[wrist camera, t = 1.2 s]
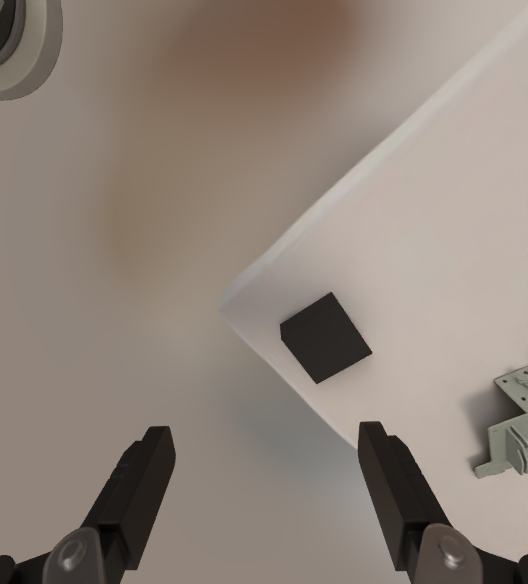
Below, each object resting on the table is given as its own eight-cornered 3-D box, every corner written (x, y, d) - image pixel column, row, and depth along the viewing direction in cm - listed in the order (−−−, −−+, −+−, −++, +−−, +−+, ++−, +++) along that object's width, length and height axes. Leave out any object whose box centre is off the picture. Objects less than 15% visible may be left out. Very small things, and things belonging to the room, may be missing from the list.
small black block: (279, 324, 27) (280, 339, 24) (331, 291, 25) (339, 303, 22) (311, 366, 28) (316, 384, 25) (362, 337, 27) (373, 353, 24)
